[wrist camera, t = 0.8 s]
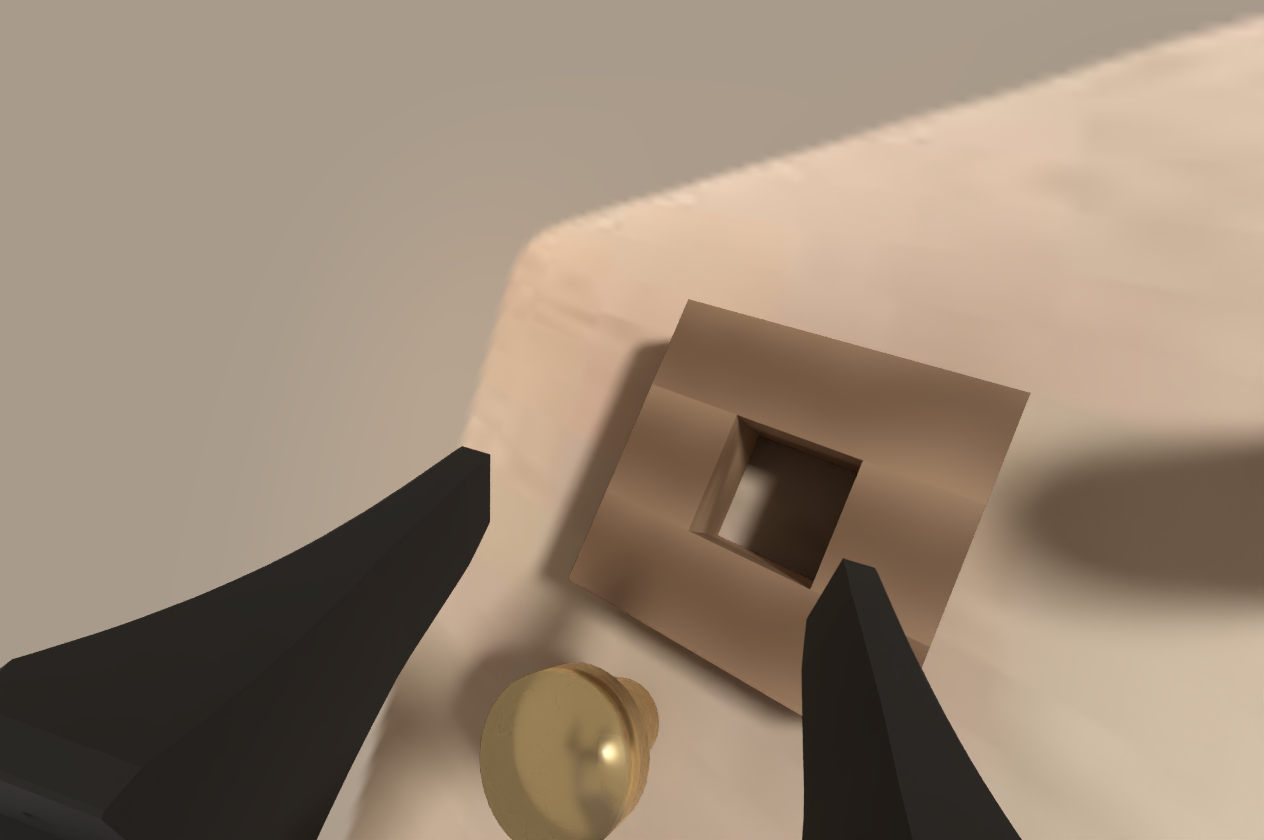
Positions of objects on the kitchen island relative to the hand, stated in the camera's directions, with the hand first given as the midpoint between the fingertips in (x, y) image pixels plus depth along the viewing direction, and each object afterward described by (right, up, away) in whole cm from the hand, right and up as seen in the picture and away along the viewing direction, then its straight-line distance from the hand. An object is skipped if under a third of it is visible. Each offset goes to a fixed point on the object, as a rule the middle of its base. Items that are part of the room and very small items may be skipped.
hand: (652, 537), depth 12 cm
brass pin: (-1, -10, +13) cm, 17 cm away
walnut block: (+6, -1, +12) cm, 14 cm away
